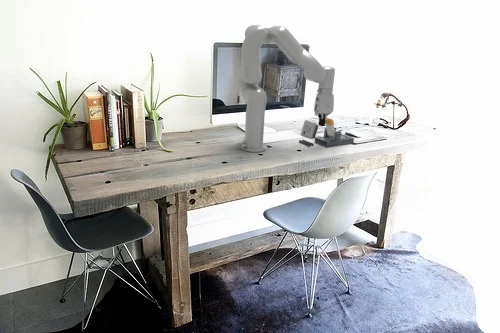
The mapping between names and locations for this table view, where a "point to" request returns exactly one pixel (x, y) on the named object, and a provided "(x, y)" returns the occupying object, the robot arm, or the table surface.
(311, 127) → the electrical switch
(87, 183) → the table surface
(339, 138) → the double window frame
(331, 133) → the breaker lever
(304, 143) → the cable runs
